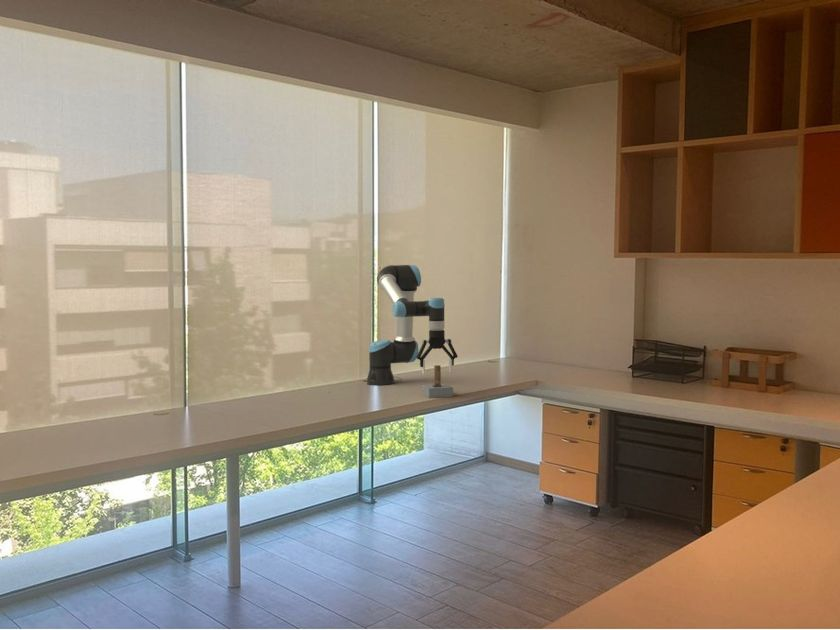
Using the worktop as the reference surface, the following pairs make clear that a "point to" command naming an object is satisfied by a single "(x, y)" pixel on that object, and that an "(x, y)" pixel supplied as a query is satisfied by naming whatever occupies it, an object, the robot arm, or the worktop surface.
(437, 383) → the dowel
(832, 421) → the worktop surface
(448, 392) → the socket block
